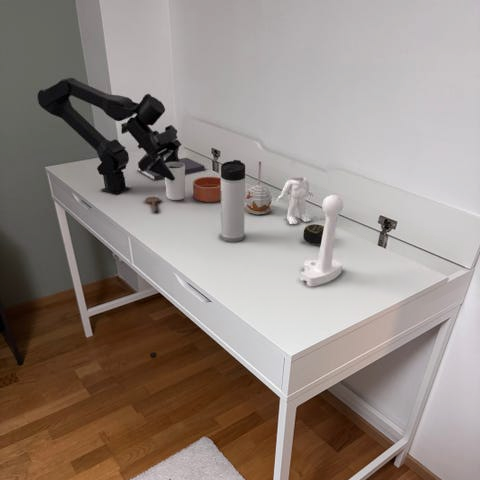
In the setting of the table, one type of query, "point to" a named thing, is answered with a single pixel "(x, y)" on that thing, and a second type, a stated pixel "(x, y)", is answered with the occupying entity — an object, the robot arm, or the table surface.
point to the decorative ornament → (258, 198)
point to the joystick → (325, 248)
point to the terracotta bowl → (207, 189)
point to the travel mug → (232, 200)
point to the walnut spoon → (153, 202)
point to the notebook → (189, 164)
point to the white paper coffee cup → (176, 181)
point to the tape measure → (313, 233)
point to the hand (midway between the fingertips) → (178, 176)
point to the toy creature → (296, 198)
